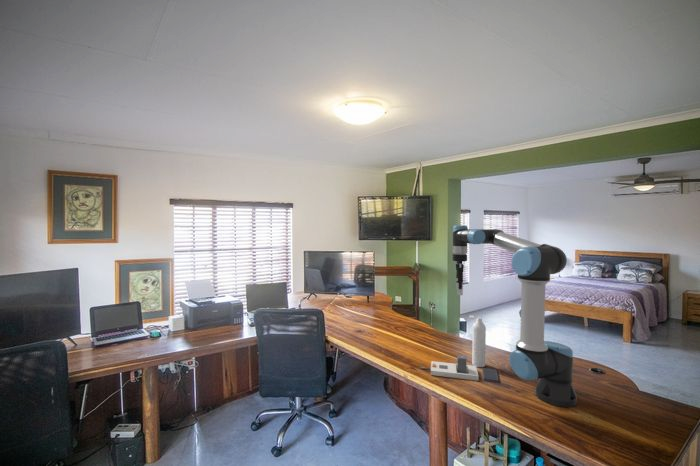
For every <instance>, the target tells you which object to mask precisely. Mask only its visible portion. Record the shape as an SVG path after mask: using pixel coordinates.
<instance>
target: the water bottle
mask: <svg viewBox="0 0 700 466" xmlns="http://www.w3.org/2000/svg"><path fill="white" fill-rule="evenodd" d="M469 319H475V315H469ZM486 331H487V328H486V325H485V324H484V322H483V319H482V317H480V316H479V317H476V321H475V322H474V323H473V324H472V343H471V344H472V346H471V347H472V352H471V355H472V356H471V358H472V359H471V364H472V365H471V366H476V368H485V367H486V342H487V341H486V338H487V337H486V334H487V333H486Z"/></svg>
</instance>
